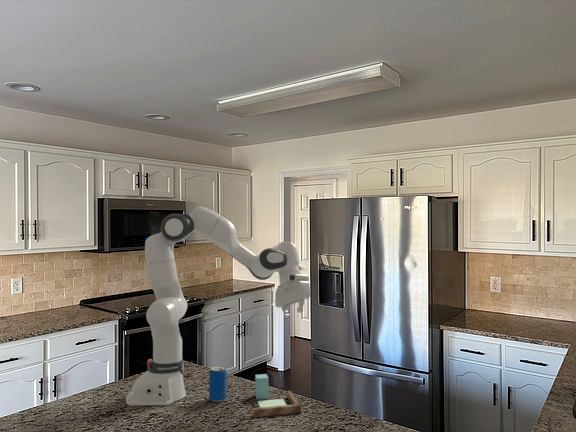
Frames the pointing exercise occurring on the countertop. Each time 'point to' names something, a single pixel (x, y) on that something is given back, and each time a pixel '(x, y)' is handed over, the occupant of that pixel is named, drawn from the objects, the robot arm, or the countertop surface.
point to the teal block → (262, 386)
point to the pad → (271, 403)
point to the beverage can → (217, 384)
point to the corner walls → (279, 408)
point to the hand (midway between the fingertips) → (293, 314)
